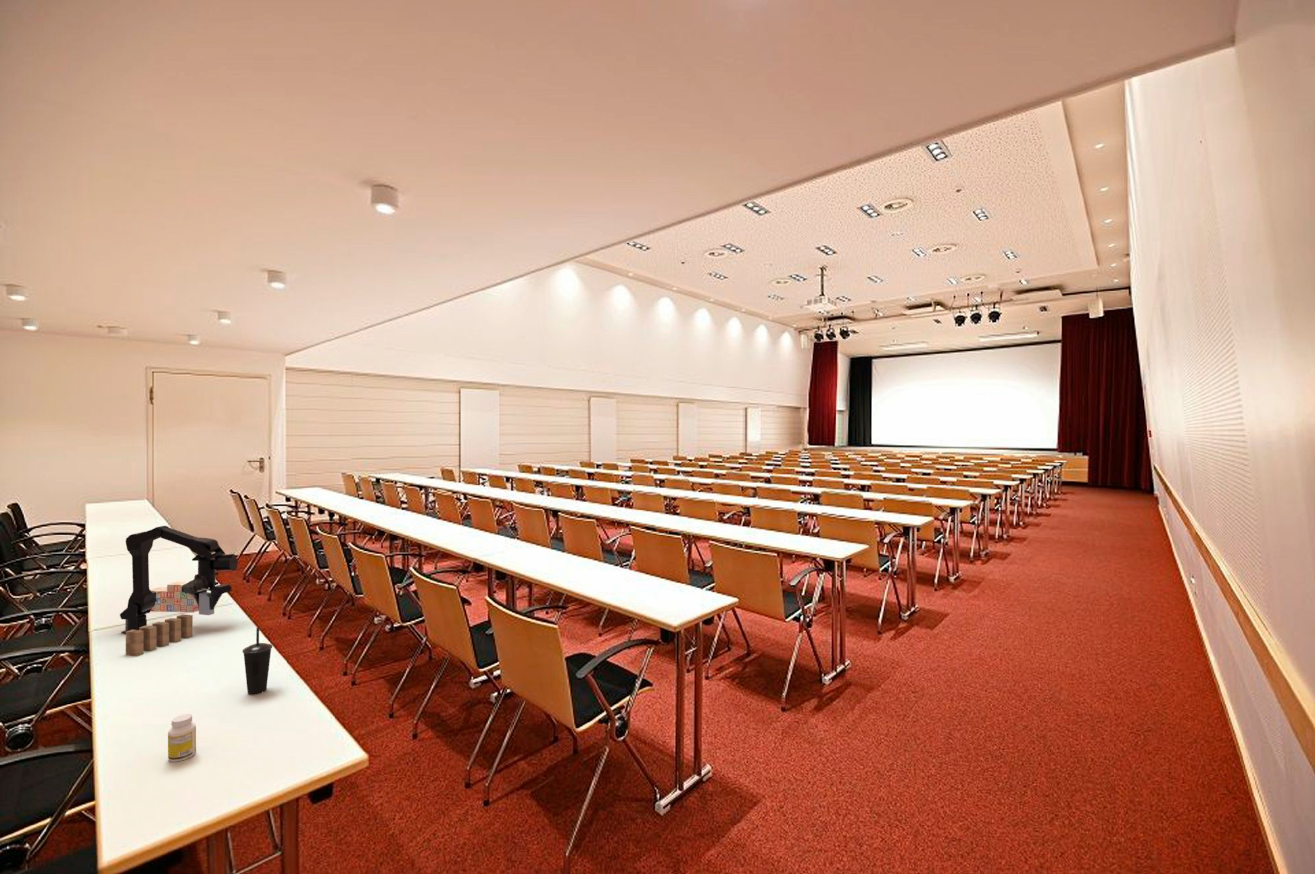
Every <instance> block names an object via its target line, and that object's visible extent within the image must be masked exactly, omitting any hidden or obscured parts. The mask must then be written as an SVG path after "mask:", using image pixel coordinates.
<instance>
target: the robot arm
mask: <svg viewBox="0 0 1315 874" xmlns="http://www.w3.org/2000/svg"><path fill="white" fill-rule="evenodd" d="M159 538H161V539H163V540H166V541H168V542H172V543H175V544H178V545H180V546H184V547H187V548H188V549H189V550H190V552H192V553H194V554H196V555H195V556H194V557H192V558H191V561H194V562H195V561H197V574H195V575H194V577H193V579H192V580H190V582H188V583H186V584H184V585H183V586H182V587H181V592H184V593H185V594H187V593H188V594H190V595H192V596H194V598H195V600H196V602H197V604H198V606H199V593H203V592H208V591H210V592H209V593H210V594H207V596H208V597H209V602H210V610H213V609H214V610H215V607H216V605H217V604H218V602H219V600H220V598H221V597H222V595H223V594H226V593H230V592H232V589H233V588H232V585H231V584H230V583H229V584H228V583H222V584H219V581H217V580H216V578H217V577H216V576H218V575H219V572H230V571H231V572H234V571H235V570H236V569H237V568H238V565H239V560H238V558H237V556H236V555H235V553H227V554H226V552H225V551H224V550H223V548H222V547H221V546H220V545H219V541H218V540H217V539H213V538H209V537H198V536H194V535H191V534H188V533H186V532H183V531H179V530H176V529H174V528H171V527H169V526H167V525H162V526H161V525H160V526H156V527H154V528H152V529H149V530H146V531H141V532H136V533H132V534H130V535H128V536H127V537H126V538H125V545H126V550H127V551H128V553H129V554H130V555H131V562H132V563H131V565H132V569H131V570H132V572H131V573H132V593H131V594H130V596H129V598H128V602H127V607H126V608H125V609H124V610H123V611H121V613H119V617H120V619H121V620H124V621H125V627H124V628H125V630H122V631H121V634H126V631H130V630H139V627H143V626H148V621H147V614H150V613H151V612H152V611H151V609H152V608H153V607H154V606H155V602H157V600H156V592H154V593H152V592H151V590H152V589H150V574H149V573H150V570H149V569H150V568H149V567H150V566H149V565H150V564H149V563H150V562H149V554H150V552H151V550H152V547H153V546H154V545H153V544H154V541H156V540H157V539H159Z"/></svg>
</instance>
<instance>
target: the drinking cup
mask: <svg viewBox="0 0 1315 874" xmlns="http://www.w3.org/2000/svg"><path fill="white" fill-rule="evenodd" d="M255 631H256V634H255V635H256V637H255V638H256V643H254V644H250V645H249V646H247V647H245V648H243V649H242V654H243V658H244V659H243V660H244V668H245V669H244V670H245V682H246V689H247V694H248V695H250V696H256V695H260V694H263V693H265V692H266V691H267V686H268V677H269V671H270V662H271V661H270V660H271V652H272V649H273V645H272V644H271V643H265V642H260V627H256V630H255ZM262 692H263V693H262ZM255 694H256V695H255Z"/></svg>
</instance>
